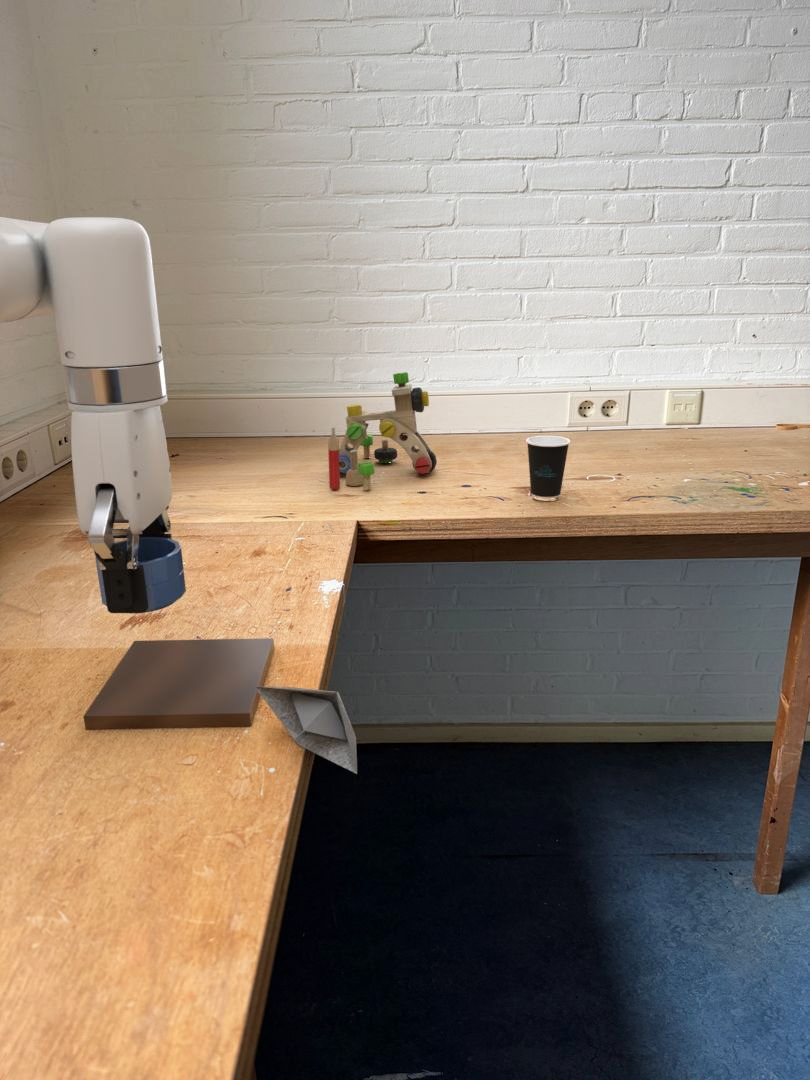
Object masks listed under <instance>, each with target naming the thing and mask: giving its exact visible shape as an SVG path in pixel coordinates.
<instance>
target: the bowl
mask: <svg viewBox="0 0 810 1080" xmlns="http://www.w3.org/2000/svg"><path fill="white" fill-rule="evenodd" d="M114 542H115V543H120V544H121V545H122V547H123V548H124V549H125V550H126V552H127V538H124V539H121V540H118V541H114ZM94 559H95V565H96V572H97V578H98V585H99V591H100V599H101V603H102V605H103V606H105V607H107V603H106V596H105V590H104V583H103V576H102V570H100V568H99V564H98V559H97V557H96V555H95V554H94ZM138 565H143V569H144V577H145V584H146V592H147V600H148V609H147V610H146V612H144V613H143V614H145V613H146V614H147V613H152V612H156V611H159V610H162V609H166V608H168V607H170V606H172V605H173V604H174V603H176V602H177V601H178V600H180V599H182V597H183V596H184V594H185V593H186V591H187V588H186V579H185V570H184V561H183V551H182V545H181V543H180V542H179V541H177V540H175V539H173V538H172V539H169V538H163V537H139V550H138Z"/></svg>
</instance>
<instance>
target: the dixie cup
mask: <svg viewBox="0 0 810 1080" xmlns="http://www.w3.org/2000/svg"><path fill="white" fill-rule="evenodd" d="M525 442H526V443H527V457H528V468H529V469H528V472H529V485H530V494H531V496H534V497H536V498H542V499H550V498H556V497H558V496H559V497H560V495H561V492H562V486H563V480H564V473H565V470H566V462H567V456H568V451H569V445H570V444H571V440H570V439H569V438H567V437H563V436H558V435H535V436H530V437H528V438H526V441H525Z"/></svg>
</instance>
